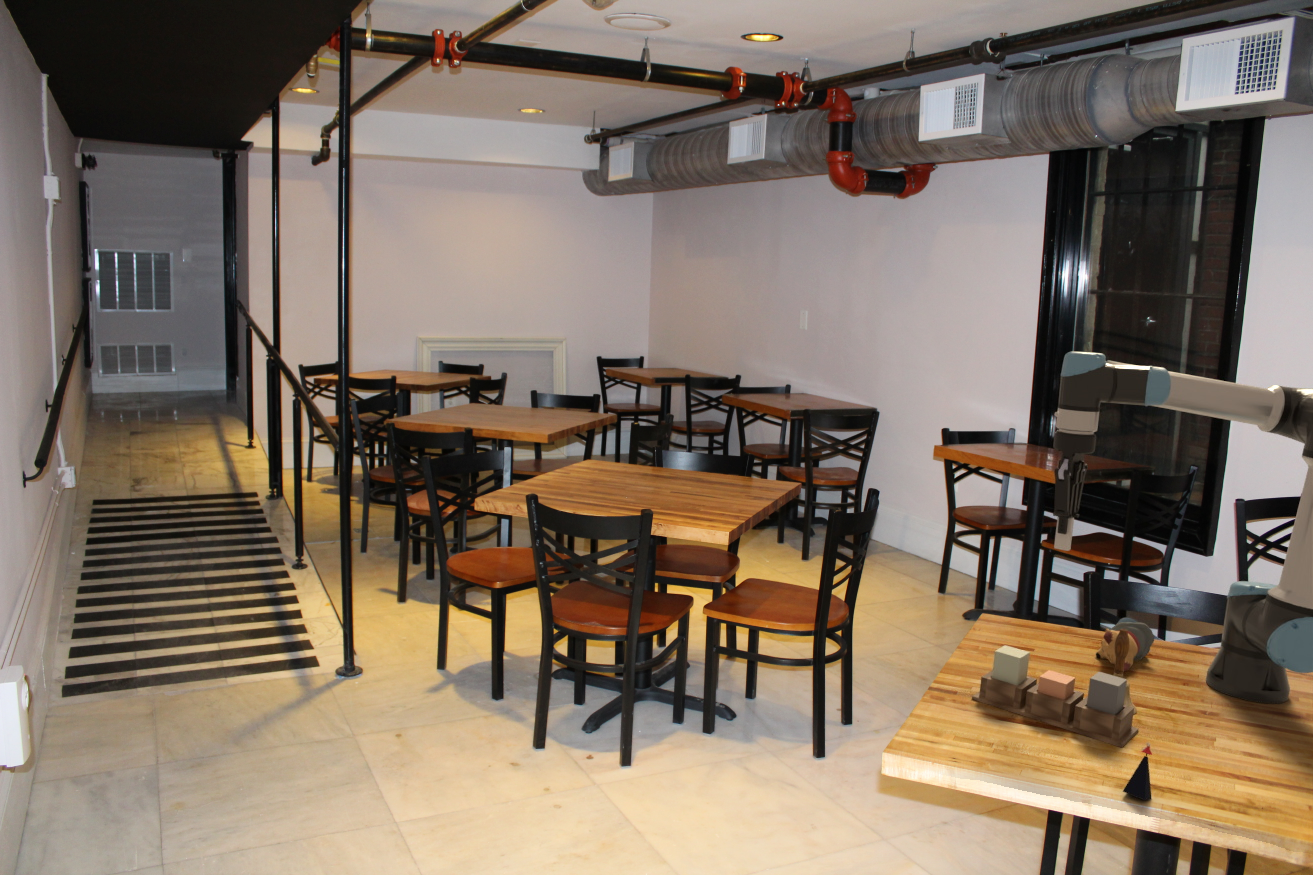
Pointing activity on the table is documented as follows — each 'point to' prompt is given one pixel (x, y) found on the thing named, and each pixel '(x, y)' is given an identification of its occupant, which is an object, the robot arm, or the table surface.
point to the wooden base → (1058, 710)
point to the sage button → (1010, 665)
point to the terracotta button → (1056, 685)
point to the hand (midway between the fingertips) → (1062, 548)
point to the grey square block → (1106, 693)
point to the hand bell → (1121, 654)
